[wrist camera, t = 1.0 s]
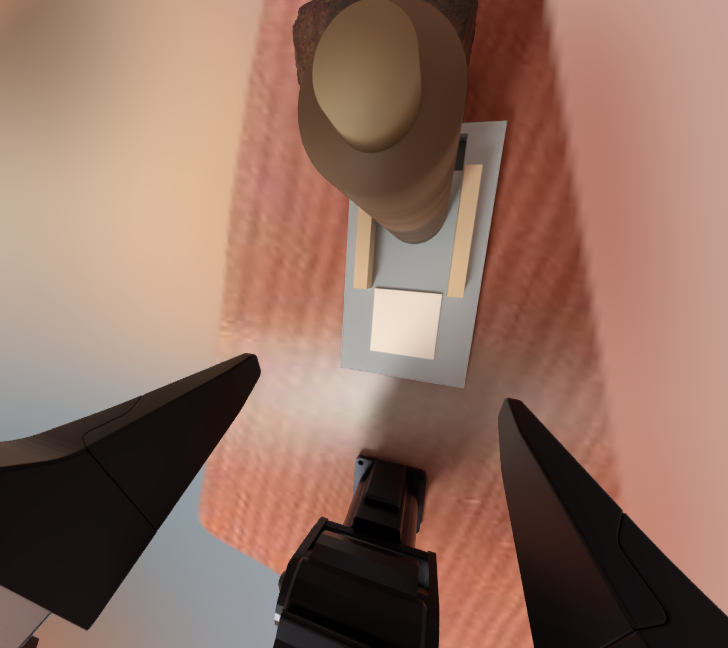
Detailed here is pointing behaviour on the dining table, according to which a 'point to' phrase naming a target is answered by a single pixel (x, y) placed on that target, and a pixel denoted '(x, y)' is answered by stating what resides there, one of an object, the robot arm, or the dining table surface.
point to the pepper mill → (387, 112)
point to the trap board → (423, 277)
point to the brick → (327, 3)
